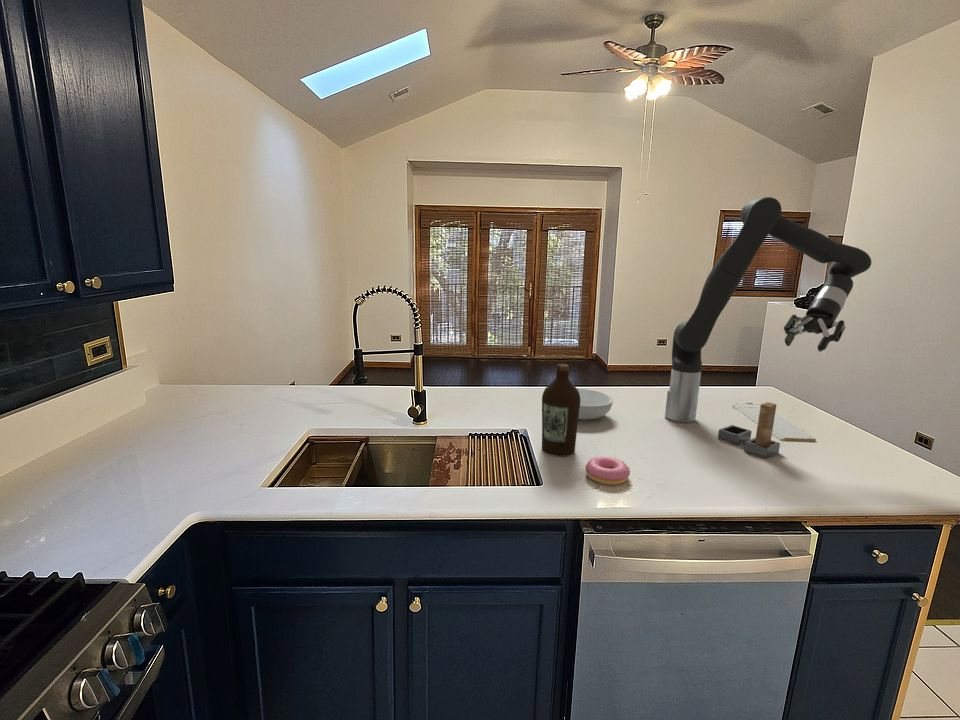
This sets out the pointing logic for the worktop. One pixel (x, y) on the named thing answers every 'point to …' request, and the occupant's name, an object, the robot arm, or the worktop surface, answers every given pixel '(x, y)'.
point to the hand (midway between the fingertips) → (802, 346)
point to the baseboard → (777, 425)
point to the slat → (765, 424)
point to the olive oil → (560, 414)
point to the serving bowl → (593, 404)
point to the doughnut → (607, 470)
